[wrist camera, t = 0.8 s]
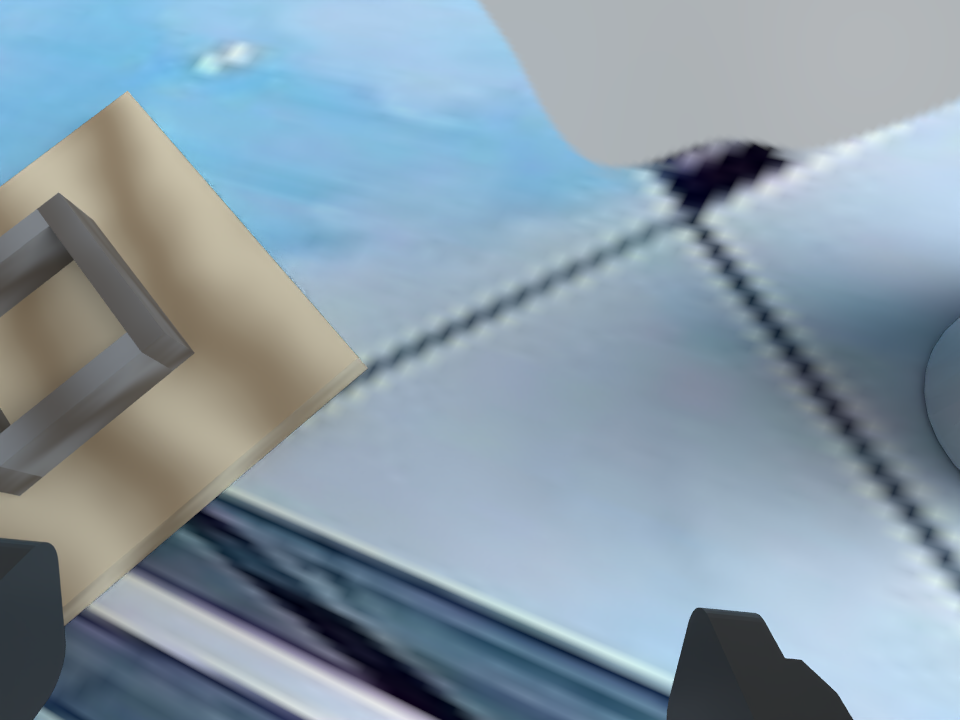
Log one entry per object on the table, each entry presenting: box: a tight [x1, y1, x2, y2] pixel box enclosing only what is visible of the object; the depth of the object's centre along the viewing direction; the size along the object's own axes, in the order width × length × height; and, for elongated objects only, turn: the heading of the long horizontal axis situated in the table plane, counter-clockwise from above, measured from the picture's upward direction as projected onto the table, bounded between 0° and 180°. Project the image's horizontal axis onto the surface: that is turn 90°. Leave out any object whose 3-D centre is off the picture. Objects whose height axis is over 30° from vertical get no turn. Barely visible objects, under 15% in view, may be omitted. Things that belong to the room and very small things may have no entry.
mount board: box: [0, 91, 368, 626], centre depth 33 cm, size 20×20×4 cm
